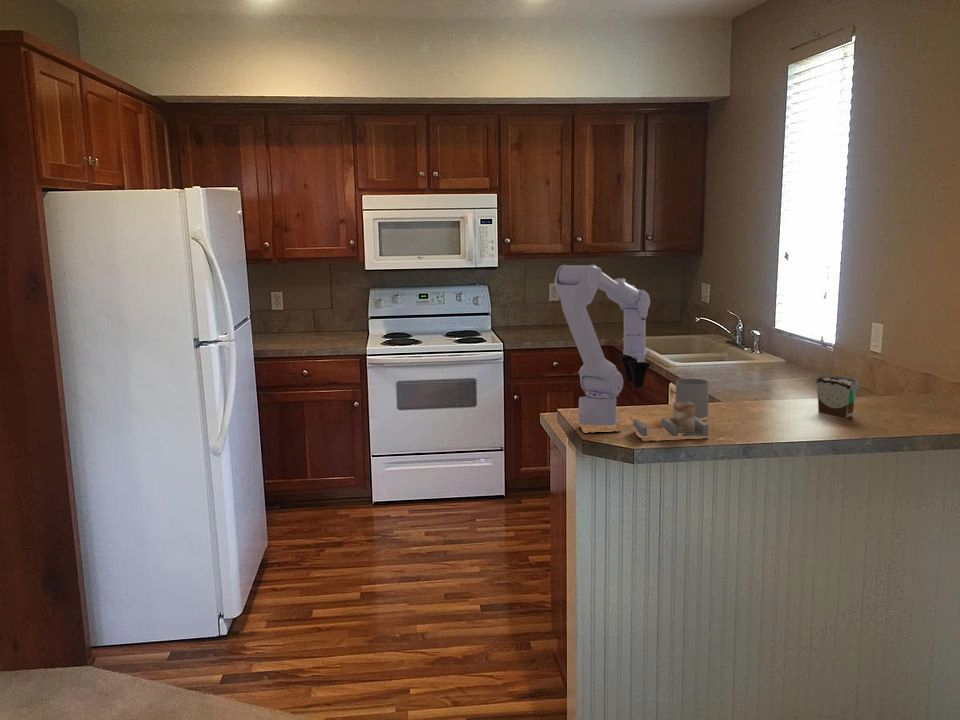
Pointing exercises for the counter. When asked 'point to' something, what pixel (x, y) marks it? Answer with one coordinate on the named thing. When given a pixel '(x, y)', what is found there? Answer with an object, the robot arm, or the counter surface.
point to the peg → (684, 416)
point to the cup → (694, 394)
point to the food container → (836, 395)
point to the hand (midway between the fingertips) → (634, 384)
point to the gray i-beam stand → (674, 427)
